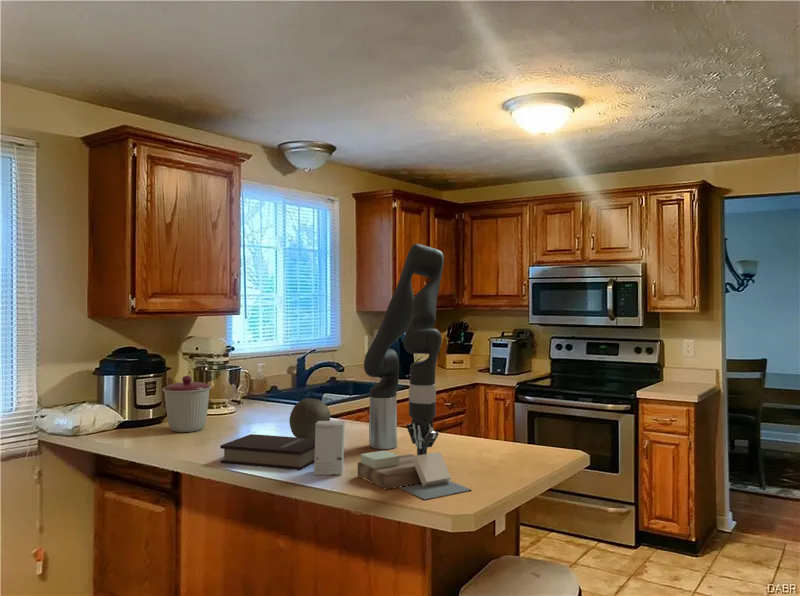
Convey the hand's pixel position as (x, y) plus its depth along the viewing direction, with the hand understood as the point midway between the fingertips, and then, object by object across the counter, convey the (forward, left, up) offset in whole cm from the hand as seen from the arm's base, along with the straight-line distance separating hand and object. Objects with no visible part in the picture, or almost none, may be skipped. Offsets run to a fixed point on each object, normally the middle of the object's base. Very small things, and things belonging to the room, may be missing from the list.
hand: (421, 460), depth 186 cm
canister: (-108, -37, -6) cm, 115 cm away
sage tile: (-8, -9, -1) cm, 12 cm away
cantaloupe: (-64, -5, -6) cm, 65 cm away
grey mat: (+10, -2, -5) cm, 12 cm away
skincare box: (-21, -18, -6) cm, 29 cm away
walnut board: (-5, -4, -5) cm, 9 cm away
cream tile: (+4, 0, -2) cm, 4 cm away
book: (-45, -26, -6) cm, 52 cm away
